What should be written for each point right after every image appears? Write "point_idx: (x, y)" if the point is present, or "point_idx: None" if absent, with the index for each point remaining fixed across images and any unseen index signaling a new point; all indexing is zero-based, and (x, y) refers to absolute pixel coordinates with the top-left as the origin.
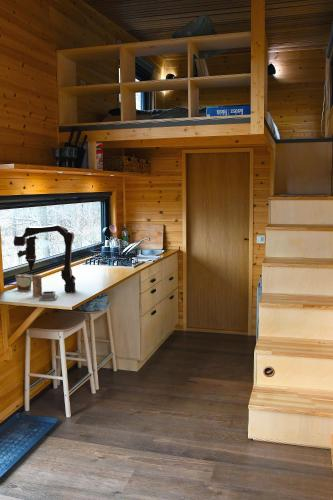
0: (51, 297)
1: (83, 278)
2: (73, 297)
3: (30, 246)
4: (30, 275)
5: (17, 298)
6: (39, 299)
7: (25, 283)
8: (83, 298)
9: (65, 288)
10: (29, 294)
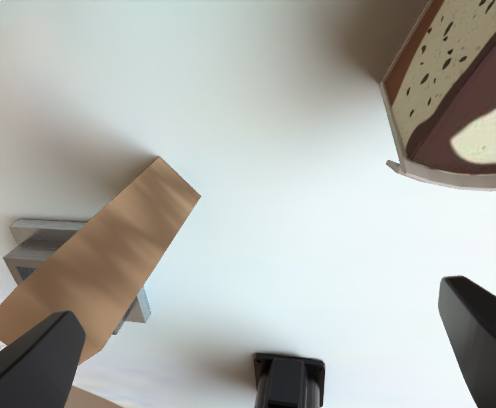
0: None
1: None
2: (138, 373)
3: None
4: None
5: (30, 26)
6: (13, 224)
7: (441, 35)
8: (124, 402)
9: (268, 379)
10: (200, 116)
